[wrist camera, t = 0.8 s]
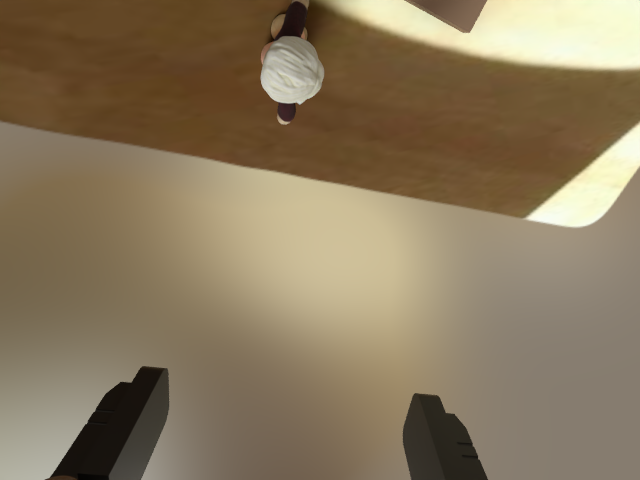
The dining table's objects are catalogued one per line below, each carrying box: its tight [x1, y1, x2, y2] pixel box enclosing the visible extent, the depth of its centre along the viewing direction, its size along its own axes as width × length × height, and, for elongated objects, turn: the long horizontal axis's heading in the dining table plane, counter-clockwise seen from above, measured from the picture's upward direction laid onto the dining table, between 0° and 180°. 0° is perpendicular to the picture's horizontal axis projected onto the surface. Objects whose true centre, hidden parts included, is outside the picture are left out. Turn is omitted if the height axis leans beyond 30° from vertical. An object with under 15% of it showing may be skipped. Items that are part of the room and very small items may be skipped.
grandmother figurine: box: [261, 0, 324, 124], centre depth 24 cm, size 8×4×13 cm, turn 1°
